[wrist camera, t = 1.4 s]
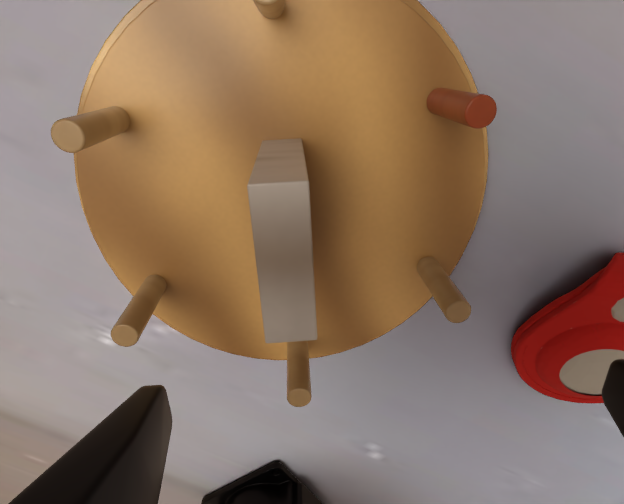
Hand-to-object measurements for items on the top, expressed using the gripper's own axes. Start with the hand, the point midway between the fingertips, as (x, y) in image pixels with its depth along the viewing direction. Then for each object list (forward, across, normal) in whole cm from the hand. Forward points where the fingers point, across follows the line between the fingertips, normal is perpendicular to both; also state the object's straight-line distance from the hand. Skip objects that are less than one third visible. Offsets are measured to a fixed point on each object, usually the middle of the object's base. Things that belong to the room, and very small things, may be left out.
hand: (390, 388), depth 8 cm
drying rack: (+11, +2, -1) cm, 12 cm away
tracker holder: (+13, -16, +10) cm, 23 cm away
